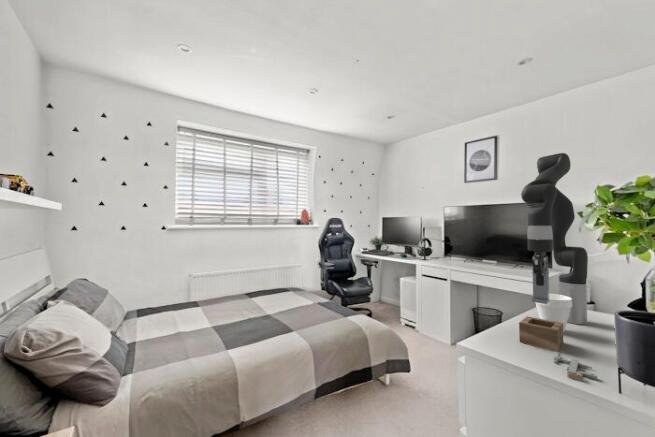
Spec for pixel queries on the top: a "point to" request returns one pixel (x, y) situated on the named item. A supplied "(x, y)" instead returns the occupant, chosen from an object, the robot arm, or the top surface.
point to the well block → (541, 333)
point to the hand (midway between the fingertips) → (540, 284)
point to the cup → (555, 309)
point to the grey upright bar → (541, 289)
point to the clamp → (575, 369)
